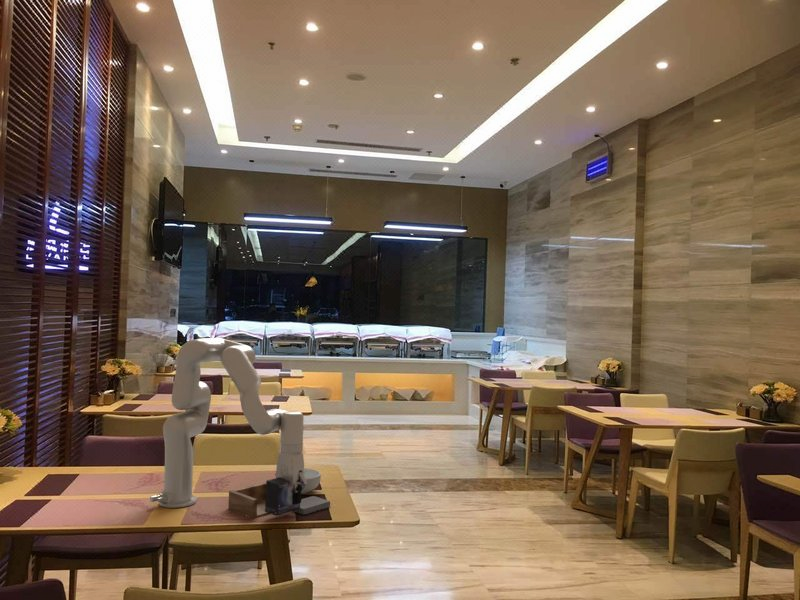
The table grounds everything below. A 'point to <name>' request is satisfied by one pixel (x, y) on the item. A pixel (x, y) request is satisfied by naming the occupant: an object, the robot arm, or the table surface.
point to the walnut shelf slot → (249, 500)
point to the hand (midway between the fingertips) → (290, 500)
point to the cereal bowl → (311, 479)
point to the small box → (279, 497)
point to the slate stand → (312, 505)
